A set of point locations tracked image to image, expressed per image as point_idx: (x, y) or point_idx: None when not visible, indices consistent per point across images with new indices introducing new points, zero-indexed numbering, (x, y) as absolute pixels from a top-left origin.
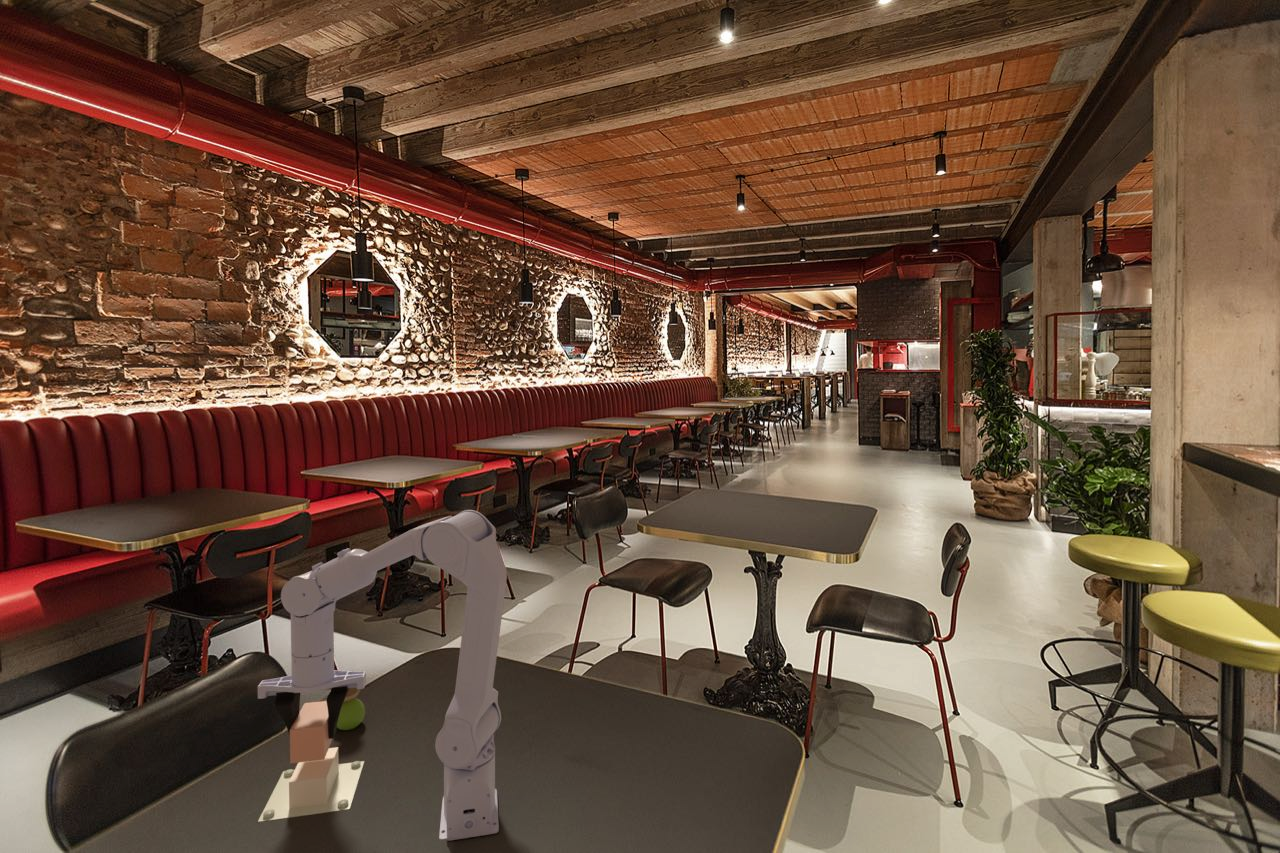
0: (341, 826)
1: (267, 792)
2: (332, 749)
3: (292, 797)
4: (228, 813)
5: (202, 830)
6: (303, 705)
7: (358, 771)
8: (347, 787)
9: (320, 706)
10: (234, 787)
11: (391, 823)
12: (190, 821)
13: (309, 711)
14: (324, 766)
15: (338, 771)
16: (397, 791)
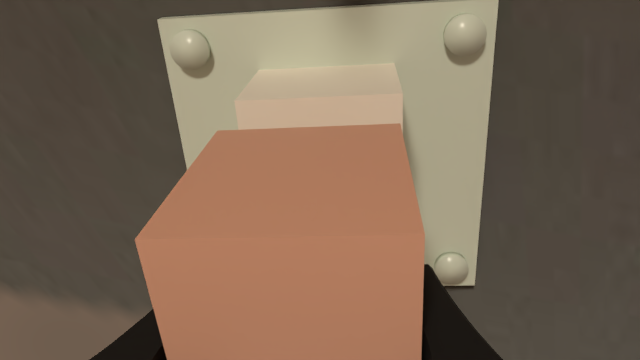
0: None
1: (159, 124)
2: (377, 112)
3: None
4: (93, 210)
5: (68, 267)
6: (145, 275)
7: (480, 82)
8: (450, 179)
9: (310, 324)
10: (19, 71)
11: (600, 338)
12: (4, 224)
13: None
14: None
15: (394, 63)
16: (629, 203)
